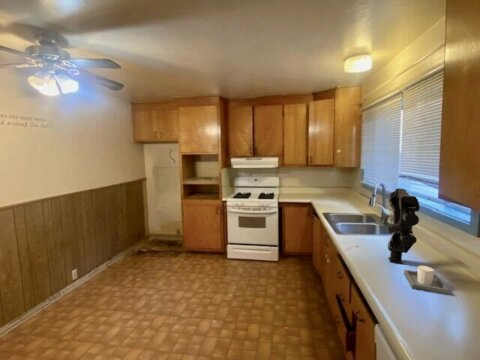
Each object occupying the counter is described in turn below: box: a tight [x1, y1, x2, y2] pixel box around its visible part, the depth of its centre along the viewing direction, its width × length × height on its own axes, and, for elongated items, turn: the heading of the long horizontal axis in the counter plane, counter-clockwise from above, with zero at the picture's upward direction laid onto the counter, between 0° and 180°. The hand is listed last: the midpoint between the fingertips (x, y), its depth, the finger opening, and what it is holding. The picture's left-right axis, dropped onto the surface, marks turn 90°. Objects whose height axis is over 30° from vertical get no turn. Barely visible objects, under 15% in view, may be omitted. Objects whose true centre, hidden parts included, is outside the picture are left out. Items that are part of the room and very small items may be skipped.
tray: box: [403, 269, 450, 295], centre depth 132 cm, size 16×14×2 cm
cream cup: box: [417, 264, 436, 285], centre depth 131 cm, size 7×7×7 cm
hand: (403, 249), depth 142 cm, fingers open, 9 cm apart
